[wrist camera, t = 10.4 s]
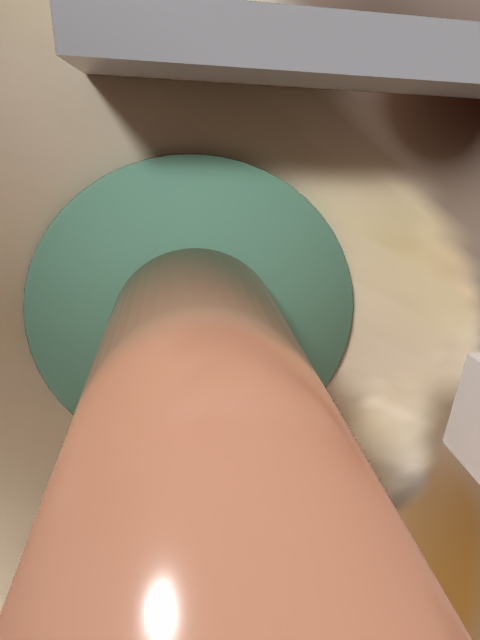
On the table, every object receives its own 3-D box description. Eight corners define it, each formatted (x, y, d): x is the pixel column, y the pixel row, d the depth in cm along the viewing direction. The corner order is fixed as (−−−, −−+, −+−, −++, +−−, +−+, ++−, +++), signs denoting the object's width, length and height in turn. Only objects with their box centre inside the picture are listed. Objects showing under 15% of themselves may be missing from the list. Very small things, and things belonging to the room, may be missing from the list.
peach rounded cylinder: (118, 399, 15) (-36, 1092, 4) (105, 247, 13) (-287, 859, 2) (269, 393, 16) (473, 964, 5) (281, 248, 14) (692, 697, 3)
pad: (51, 457, 16) (48, 465, 16) (-2, 146, 12) (-8, 146, 11) (328, 441, 18) (331, 447, 17) (372, 160, 13) (377, 161, 13)
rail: (84, 73, 11) (55, 54, 9) (80, 20, 11) (48, -18, 8) (546, 103, 13) (641, 94, 11) (560, 58, 13) (662, 38, 10)
